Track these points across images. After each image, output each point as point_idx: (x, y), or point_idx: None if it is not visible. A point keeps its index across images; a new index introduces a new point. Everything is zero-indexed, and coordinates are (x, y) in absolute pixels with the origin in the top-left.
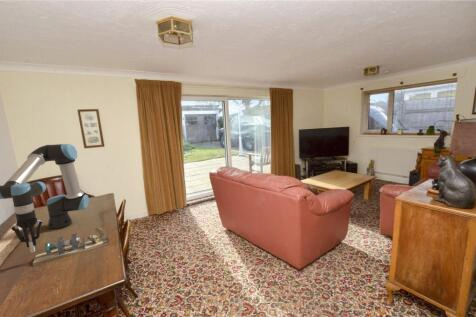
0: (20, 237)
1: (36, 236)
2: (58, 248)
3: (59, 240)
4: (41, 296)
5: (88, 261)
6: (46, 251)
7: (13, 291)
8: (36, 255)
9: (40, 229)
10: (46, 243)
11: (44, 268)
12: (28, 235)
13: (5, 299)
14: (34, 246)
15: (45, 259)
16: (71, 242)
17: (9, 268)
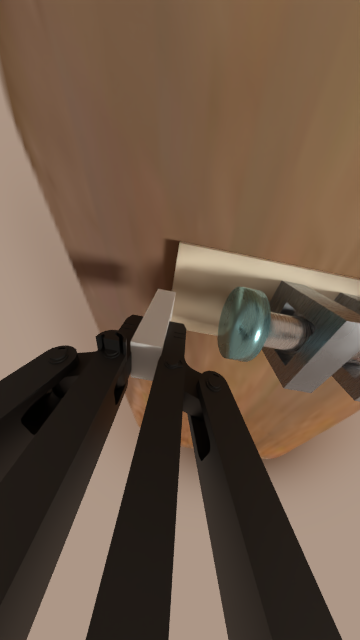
0: (14, 454)
1: (193, 429)
2: (267, 355)
3: (308, 376)
4: (181, 430)
5: (283, 402)
6: (219, 342)
7: (139, 397)
8: (180, 252)
9: (297, 552)
10: (239, 355)
11: (195, 361)
12: (97, 421)
13: (131, 408)
14: (172, 306)
15: (206, 332)
16: (333, 377)
17: (88, 269)
